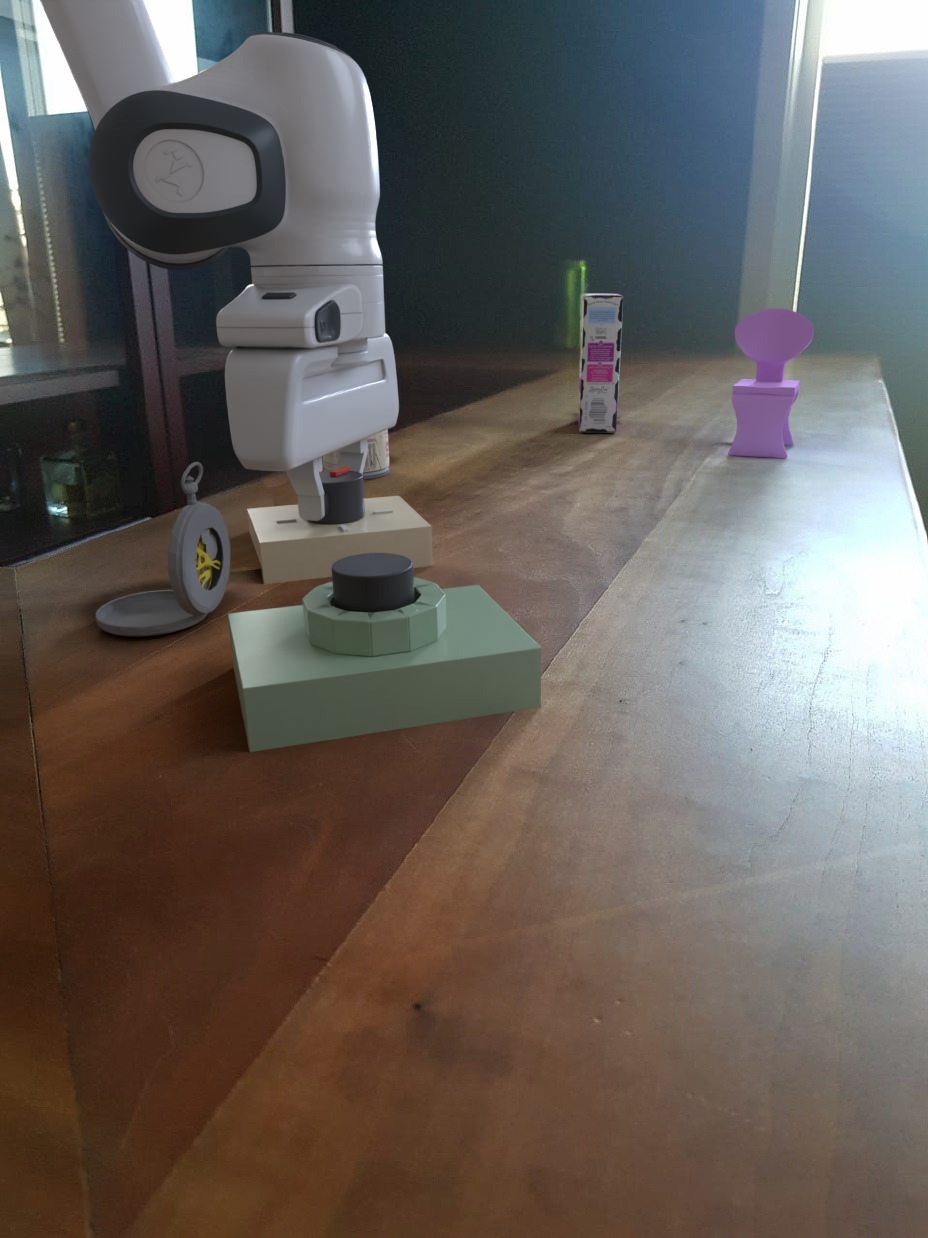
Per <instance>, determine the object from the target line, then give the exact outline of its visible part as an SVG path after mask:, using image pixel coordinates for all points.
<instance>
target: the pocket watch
mask: <svg viewBox="0 0 928 1238" xmlns="http://www.w3.org/2000/svg"><path fill="white" fill-rule="evenodd" d="M196 466H197V468H198V475H197V477H196V479H195V478H194V477H192V476H191V475H188V474H189V473H190V471H191V470H192V469H193V468H194V467H196ZM203 473H204V467H203V465H202V463H201V462H199V461H194V462H192V463H191V464H189V465H188V466H187V467H186V468H185V470H184V472H183V474H182V476H181V479H180V486H181V489H182V492H183V494H185V496H186V498H187V500H186V501H187V502H186V503H187V505H185V506H184V507H183V508H182V509H181V511H179V514H178V516H177V517H176V520H175V522H174V525H173V526H172V527H173V528H172V530H171V533H170V539H169V544H168V549H167V560H168V561H167V562H168V575H169V581H170V586H171V589H161V590H150V591H143V592H138V593H137V592H136V593H132V594H128V595H125V596H122V597H118V598H116V599H113V600H110V601H108V602H106V603H104V604H102V605H101V606H100V607H99V608H97V610H96V611H95V620H96V621H95V622H96V624H97V626H98V627H99V628H100V629H101V630H103V631H104V632H106V633H109V634H112V635H114V636H115V635H116V636H122V637H133V638H134V637H135V638H139V637H140V638H141V637H151V636H153V637H154V636H161V635H166V634H167V635H168V634H171V633H176V632H179V631H182V630H185V629H188V628H190V627H193V626H195V625H197V624H198V623H200V622H202V621H204V619H206V617H207V616H208V614H209V613H212V612H213V611H214V610H215V609H217V607H218V606H219V605H220V603H221V601H222V599H223V598H224V596H225V592H226V589H227V586H228V582H229V577H230V570H231V543H230V537H229V536H230V535H229V531H228V528H227V524H226V522H225V519H224V517H223V515H222V513H221V512H220V511H219V509H218V508H217V507H215V506H214V505H212V504H209V503H207V502H203V501H197V496H196V493H197V492H198V491H199V485H198V484H200V481H201V480H202V478H203ZM205 568H206V570H205ZM201 570H202V571H203V573H201ZM202 579H203V581H202V582H201V580H202Z"/></svg>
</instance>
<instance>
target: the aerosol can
mask: <svg viewBox="0 0 928 1238" xmlns="http://www.w3.org/2000/svg"><path fill="white" fill-rule="evenodd" d="M367 442H368V453H367V457H366V461H365V466H364V470H363V481H364V480H372V479H378V478H382V477H385V476H387V475H390V472H391V470H390V469H391V468H390V448H389V429H387V430H385V431H382V432H380V433H377V434H375V435H373V436H370V437H368V438H367ZM338 455H339V452H336V451H334V452H332V453H330V454H327V455H325V456H322V467H323V468H324V470H323V471H328V470H336V469H337V466H338Z"/></svg>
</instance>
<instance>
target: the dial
mask: <svg viewBox="0 0 928 1238" xmlns="http://www.w3.org/2000/svg"><path fill="white" fill-rule="evenodd" d="M319 475H320V479H321V482H322V486H323V490H324V492H329V497H330V503H329V506H330V513H329V515H327V516H326V517H324V518H322V519H321V520H318V521H311V520H308V521H310V522H314V523H320V524H339V523H348V522H353V521H356V520H359V519H362V518H363V517H364V516H365V501H364V499H365V485H364V480H363V474H361V473H359V472H356V471H350V467H348V466H343V467H341V468H338V469H336V470H328V471H324V470H322V472H319Z"/></svg>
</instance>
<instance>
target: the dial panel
mask: <svg viewBox="0 0 928 1238" xmlns="http://www.w3.org/2000/svg"><path fill="white" fill-rule="evenodd" d="M364 501H365V516H364V517H363V518H362V519H359V520H356V521H353V522H348V523H339V524H320V523H314V522H310V521H308V520H303V519H302V518H300V516H299V510H298V504H287V505H277V506H265V507H254V508H247V509H246V512H247V521H248V523H247V524H248V531H249V535H250V538H251V541H252V544H253V546H254V549H255V552H256V556H257V558H258V561H259V564H260V567H261V568H258V572H259V574H260V577H261V581H262V584H263V585H268V584H269V585H270V584H278V583H286V582H288V583H289V582H296V581H297V582H298V581H305V580H314V579H324V578H332V565H333V564H334V563H335V562H336V561H338V560H340V559H342V558H345V557H348V556H352V555H358V554H365V553H390V554H397V555H401V556H405V557H407V558H409V559H410V560H411V561H412V562H413V569H417V568H424V567H426V568H427V567H433V535H432V525H431V524H430V523H429V522H428V521H427V520H425V518H423V517H422V516H421V515H420V514H419V513H418V512H417V511H416V510H415V509H414V508H413V507H411V505H410V504H409V503H407V502H406V501H405V500H404V499H403V497H401V496H400V495H391V496H379V497H368V498H366V497H365V498H364Z"/></svg>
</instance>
